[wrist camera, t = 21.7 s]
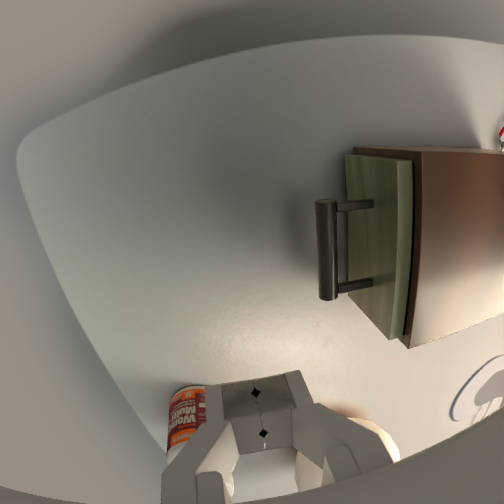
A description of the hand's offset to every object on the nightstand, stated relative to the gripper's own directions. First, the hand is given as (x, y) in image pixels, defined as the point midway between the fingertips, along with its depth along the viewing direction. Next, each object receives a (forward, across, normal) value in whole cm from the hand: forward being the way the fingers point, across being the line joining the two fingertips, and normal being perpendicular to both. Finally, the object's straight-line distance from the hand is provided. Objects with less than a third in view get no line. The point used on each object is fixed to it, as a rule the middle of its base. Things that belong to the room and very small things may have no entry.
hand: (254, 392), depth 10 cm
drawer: (+17, -16, +1) cm, 23 cm away
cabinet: (+18, -20, +1) cm, 27 cm away
